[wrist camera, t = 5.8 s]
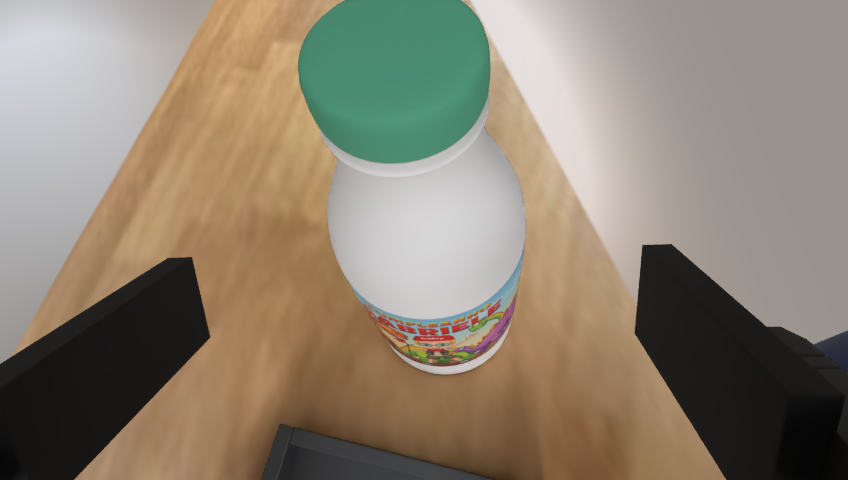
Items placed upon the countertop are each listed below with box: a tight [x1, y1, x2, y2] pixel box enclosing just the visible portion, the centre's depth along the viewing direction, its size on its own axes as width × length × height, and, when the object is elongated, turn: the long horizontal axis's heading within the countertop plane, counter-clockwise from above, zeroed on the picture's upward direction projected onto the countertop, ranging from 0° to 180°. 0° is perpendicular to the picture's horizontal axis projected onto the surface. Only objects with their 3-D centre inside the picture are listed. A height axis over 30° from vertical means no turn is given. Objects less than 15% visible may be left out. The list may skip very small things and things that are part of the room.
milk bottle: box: [298, 0, 526, 375], centre depth 20 cm, size 8×8×20 cm
